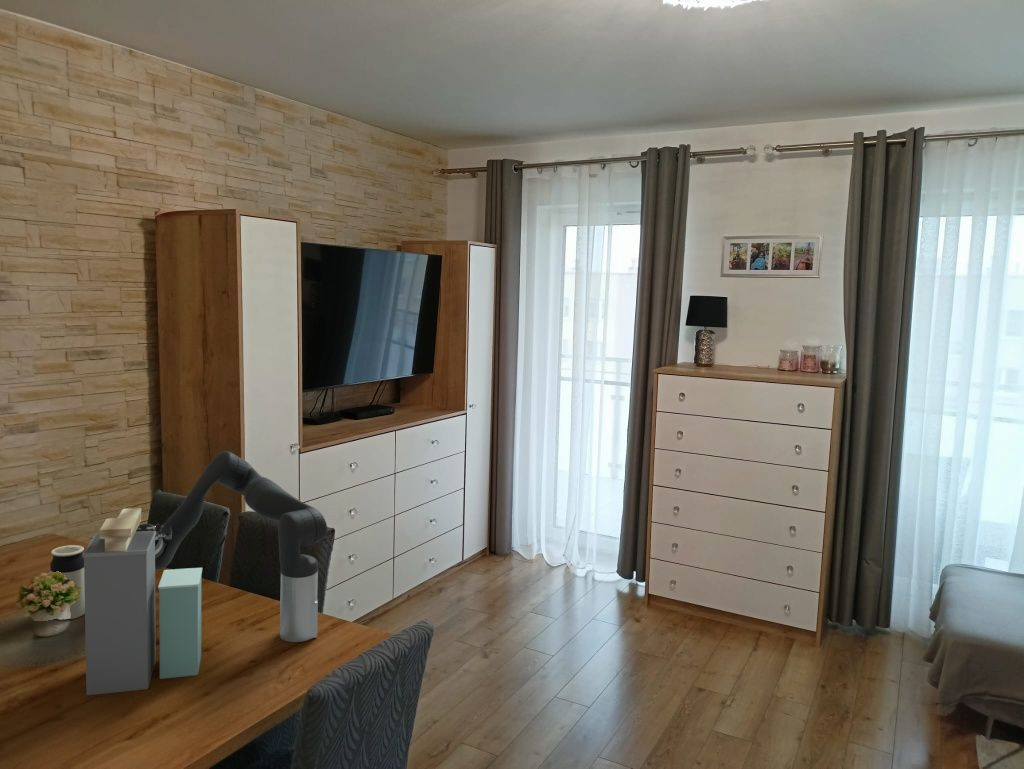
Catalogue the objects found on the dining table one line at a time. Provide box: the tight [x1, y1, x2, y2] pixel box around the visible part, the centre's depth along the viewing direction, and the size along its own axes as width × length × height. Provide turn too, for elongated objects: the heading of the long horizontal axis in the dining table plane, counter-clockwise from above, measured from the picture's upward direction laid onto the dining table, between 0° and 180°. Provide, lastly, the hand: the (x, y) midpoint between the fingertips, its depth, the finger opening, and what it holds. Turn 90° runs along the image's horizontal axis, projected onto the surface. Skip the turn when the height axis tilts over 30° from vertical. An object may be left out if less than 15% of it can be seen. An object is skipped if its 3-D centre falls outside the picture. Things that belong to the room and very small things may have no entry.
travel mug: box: [49, 544, 85, 620], centre depth 198 cm, size 8×8×18 cm
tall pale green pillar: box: [157, 567, 203, 680], centre depth 175 cm, size 8×10×22 cm
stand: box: [82, 531, 157, 696], centre depth 168 cm, size 12×13×32 cm
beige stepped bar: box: [98, 507, 142, 552], centre depth 170 cm, size 6×22×5 cm, turn 18°
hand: (138, 528), depth 188 cm, fingers open, 8 cm apart
